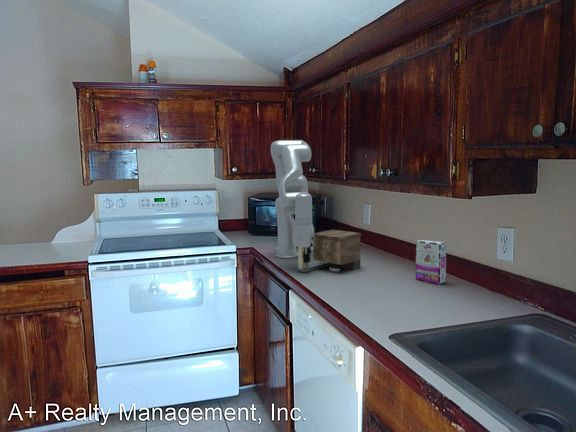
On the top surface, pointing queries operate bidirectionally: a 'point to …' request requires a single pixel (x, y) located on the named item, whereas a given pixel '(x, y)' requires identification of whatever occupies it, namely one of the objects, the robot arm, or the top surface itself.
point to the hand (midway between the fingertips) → (304, 261)
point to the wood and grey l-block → (304, 266)
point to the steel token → (334, 269)
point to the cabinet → (338, 248)
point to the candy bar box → (431, 261)
